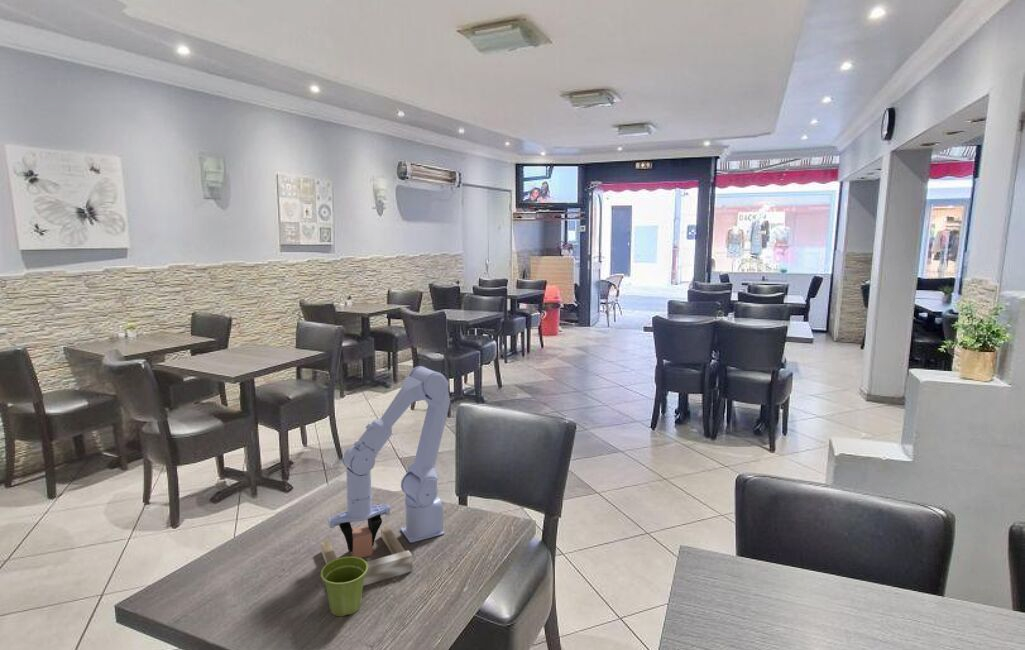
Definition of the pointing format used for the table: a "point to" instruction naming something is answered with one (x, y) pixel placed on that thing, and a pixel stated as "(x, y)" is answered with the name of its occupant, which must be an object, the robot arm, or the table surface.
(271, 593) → the table surface
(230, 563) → the table surface
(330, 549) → the wooden u-shaped frame
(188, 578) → the table surface
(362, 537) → the block
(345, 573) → the plant pot
